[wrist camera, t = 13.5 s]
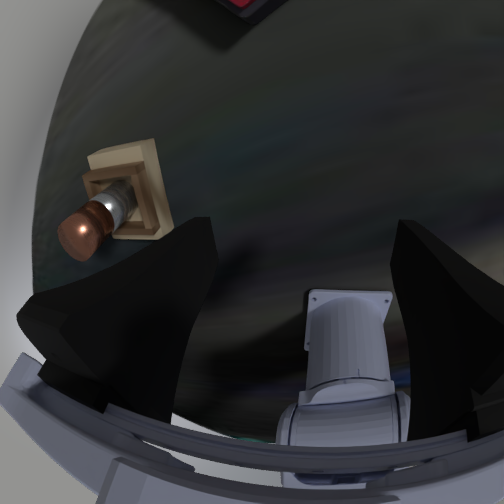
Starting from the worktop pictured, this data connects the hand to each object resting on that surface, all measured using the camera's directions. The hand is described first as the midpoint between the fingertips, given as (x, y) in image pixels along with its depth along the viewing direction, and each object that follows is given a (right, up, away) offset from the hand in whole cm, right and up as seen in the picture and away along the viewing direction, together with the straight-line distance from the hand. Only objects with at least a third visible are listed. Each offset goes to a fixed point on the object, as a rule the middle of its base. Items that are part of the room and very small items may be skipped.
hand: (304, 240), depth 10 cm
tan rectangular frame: (-12, +5, +11) cm, 17 cm away
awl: (-12, +4, +10) cm, 16 cm away
